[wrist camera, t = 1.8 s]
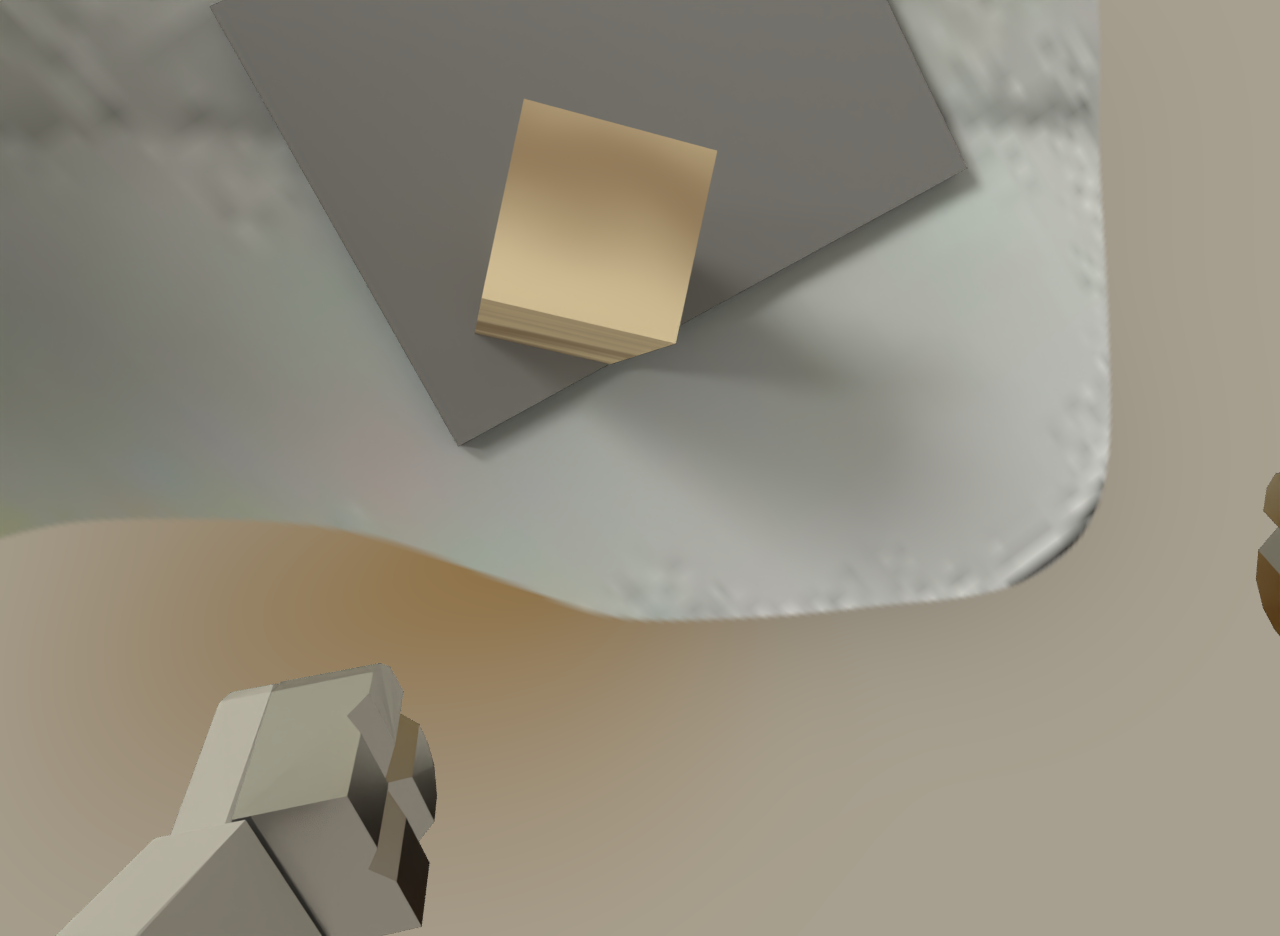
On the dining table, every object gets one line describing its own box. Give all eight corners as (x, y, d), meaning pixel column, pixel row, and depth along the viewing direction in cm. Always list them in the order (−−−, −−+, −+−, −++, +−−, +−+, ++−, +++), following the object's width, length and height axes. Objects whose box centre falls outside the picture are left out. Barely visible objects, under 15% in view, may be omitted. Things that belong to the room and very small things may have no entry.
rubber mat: (458, 445, 39) (458, 446, 38) (216, 17, 37) (209, 6, 36) (955, 173, 42) (967, 168, 41) (756, -241, 40) (763, -257, 39)
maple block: (610, 364, 39) (675, 343, 27) (474, 333, 38) (481, 298, 26) (638, 230, 39) (717, 151, 27) (503, 195, 38) (523, 98, 26)
